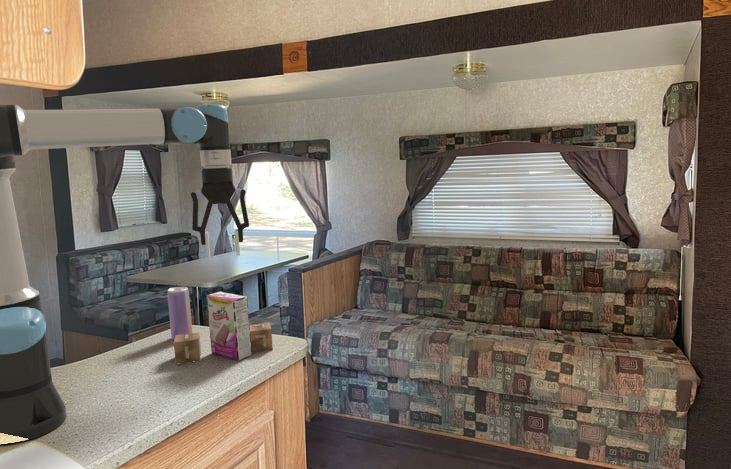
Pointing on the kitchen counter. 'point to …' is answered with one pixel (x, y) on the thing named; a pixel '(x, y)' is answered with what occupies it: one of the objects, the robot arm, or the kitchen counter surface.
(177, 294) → the beverage can
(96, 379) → the kitchen counter surface
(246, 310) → the candy bar box
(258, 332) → the walnut block seven
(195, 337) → the walnut block one
